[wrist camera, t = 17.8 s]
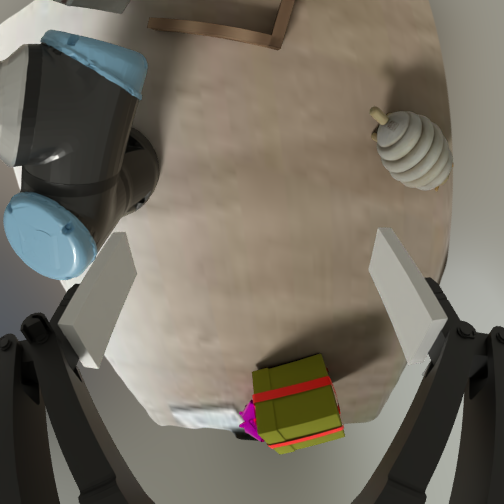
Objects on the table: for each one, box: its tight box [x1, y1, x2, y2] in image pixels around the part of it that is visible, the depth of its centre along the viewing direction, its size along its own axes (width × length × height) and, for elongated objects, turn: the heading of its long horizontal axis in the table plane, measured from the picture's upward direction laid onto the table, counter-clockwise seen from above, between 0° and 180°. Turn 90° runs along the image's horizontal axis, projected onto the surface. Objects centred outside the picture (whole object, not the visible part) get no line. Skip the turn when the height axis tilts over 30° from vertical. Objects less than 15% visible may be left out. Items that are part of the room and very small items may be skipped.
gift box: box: [239, 354, 345, 454], centre depth 69 cm, size 21×21×25 cm
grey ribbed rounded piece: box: [370, 107, 453, 192], centre depth 37 cm, size 11×17×11 cm, turn 62°
